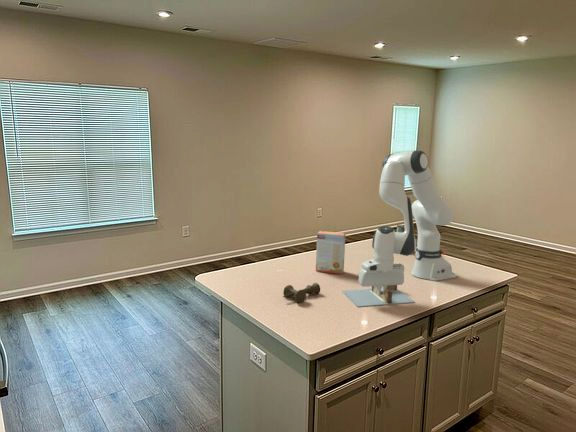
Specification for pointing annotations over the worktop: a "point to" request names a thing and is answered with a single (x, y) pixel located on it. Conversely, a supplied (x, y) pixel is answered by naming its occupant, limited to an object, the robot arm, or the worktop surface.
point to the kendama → (301, 292)
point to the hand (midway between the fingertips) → (380, 294)
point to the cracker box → (330, 252)
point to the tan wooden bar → (386, 296)
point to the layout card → (376, 297)
